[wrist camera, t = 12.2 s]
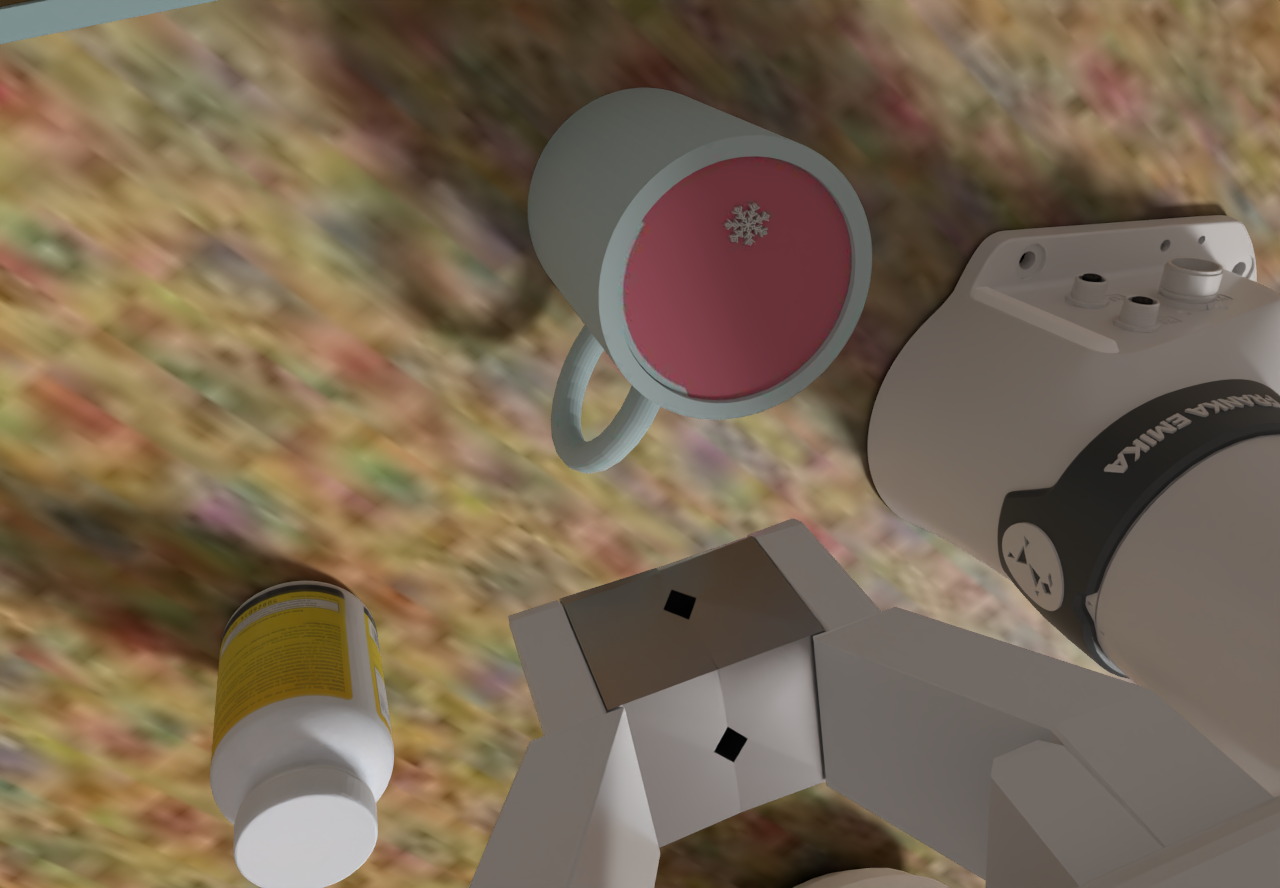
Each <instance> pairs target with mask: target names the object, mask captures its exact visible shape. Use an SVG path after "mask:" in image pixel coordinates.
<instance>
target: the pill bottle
mask: <svg viewBox="0 0 1280 888" xmlns="http://www.w3.org/2000/svg"><path fill="white" fill-rule="evenodd" d="M393 764H394V747H393V739H392V732H391V725H390V718H389V711H388V704H387V697H386V691H385V684H384V678H383V670H382V663H381V656H380V649H379V642H378V635H377V630H376V626H375V623H374V620H373V617H372V615H371V613H370V612H369V610H368V609H367V607H366V606H365V605H364V604H363V603H362V602H361V601H360V600H359V599H358V598H357V597H356V596H355V595H353V594H352V593H350V592H348V591H347V590H345V589H343V588H340V587H338V586H335V585H332V584H329V583H325V582H319V581H293V582H287V583H282V584H278V585H275V586H272V587H270V588H267V589H265V590H263V591H261V592H259V593H257V594H256V595H254V596H252V597H251V598H250V599H248V600H247V601H246V602H244V603H243V604H242V605H241V606H240V607H239V608H238V609H237V610H236V612H235V613H234V614H233V615H232V617H231V618H230V620H229V622H228V623H227V625H226V628H225V630H224V633H223V636H222V641H221V647H220V657H219V669H218V681H217V693H216V706H215V718H214V730H213V744H212V758H211V771H210V782H211V789H212V794H213V797H214V799H215V802H216V804H217V806H218V808H219V809H220V811H221V812H222V813H223V815H224V816H225V817H226V818H227V819H228V820H229V821H230V822H231V823H232V824H233V825H234V858H235V862H236V865H237V867H238V869H239V870H240V872H241V873H242V875H243V876H244V877H245V878H246V879H248V880H249V881H250V882H252V883H253V884H255V885H257V886H260V887H262V888H323V887H326V886H329V885H332V884H334V883H337V882H339V881H341V880H342V879H344V878H346V877H348V876H349V875H351V874H352V873H353V872H355V871H356V870H357V869H358V868H359V867H361V866H362V864H363V863H364V862H365V861H366V860H367V859H368V857H369V856H370V854H371V853H372V851H373V849H374V847H375V844H376V841H377V835H378V825H377V807H376V802H377V801H378V800H379V799H380V797H381V796H382V794H383V792H384V791H385V789H386V787H387V785H388V782H389V780H390V778H391V774H392V770H393Z"/></svg>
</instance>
